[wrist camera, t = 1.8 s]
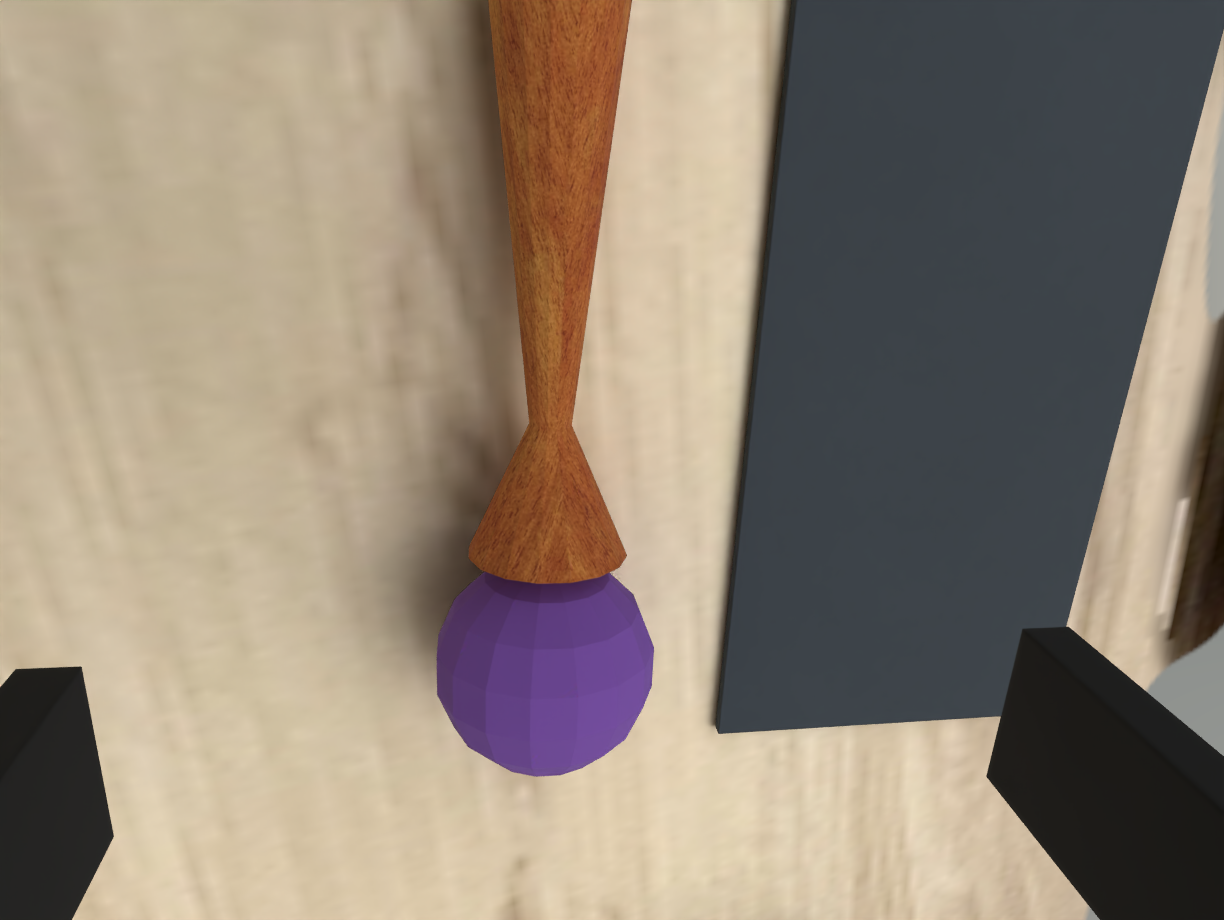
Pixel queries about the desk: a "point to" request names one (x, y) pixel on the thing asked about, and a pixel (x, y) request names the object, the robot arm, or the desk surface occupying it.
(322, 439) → the desk surface
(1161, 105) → the mat
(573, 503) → the kendama
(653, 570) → the desk surface
